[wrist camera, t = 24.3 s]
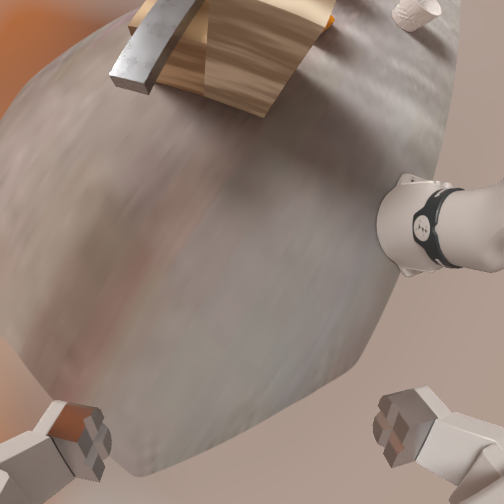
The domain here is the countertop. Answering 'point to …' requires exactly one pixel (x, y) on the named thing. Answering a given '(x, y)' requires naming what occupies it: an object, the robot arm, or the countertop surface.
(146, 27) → the block
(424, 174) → the countertop surface
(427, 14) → the white cup
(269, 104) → the step stand
